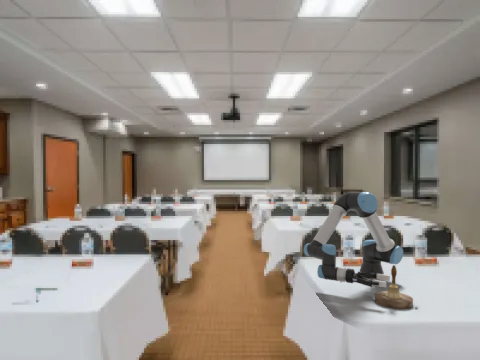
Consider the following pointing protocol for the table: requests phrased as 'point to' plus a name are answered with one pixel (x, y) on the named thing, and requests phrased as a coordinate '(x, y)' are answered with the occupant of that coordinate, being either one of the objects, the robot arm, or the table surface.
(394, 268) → the hand bell
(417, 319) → the table surface
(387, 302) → the walnut stand
